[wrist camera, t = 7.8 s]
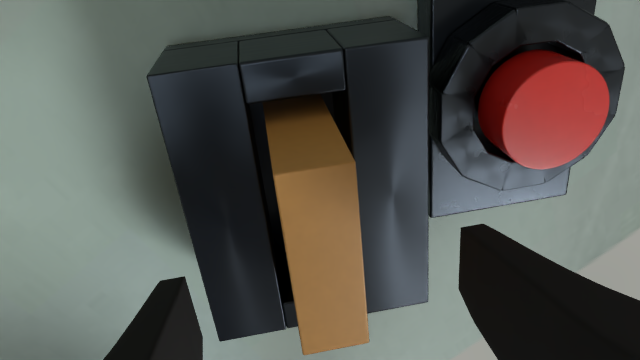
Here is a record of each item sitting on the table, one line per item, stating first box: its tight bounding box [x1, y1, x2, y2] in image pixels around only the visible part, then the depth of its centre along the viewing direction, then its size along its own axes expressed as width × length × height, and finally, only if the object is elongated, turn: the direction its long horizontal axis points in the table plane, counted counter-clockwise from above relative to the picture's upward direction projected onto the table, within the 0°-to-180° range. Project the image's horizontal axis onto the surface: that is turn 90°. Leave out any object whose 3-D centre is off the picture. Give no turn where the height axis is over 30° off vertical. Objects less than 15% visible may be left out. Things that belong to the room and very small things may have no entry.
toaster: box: [147, 16, 429, 341], centre depth 17 cm, size 10×8×4 cm
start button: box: [478, 49, 609, 169], centre depth 16 cm, size 4×4×2 cm
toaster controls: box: [418, 0, 625, 218], centre depth 18 cm, size 10×6×3 cm, turn 6°
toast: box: [262, 94, 369, 355], centre depth 16 cm, size 6×2×6 cm, turn 6°
